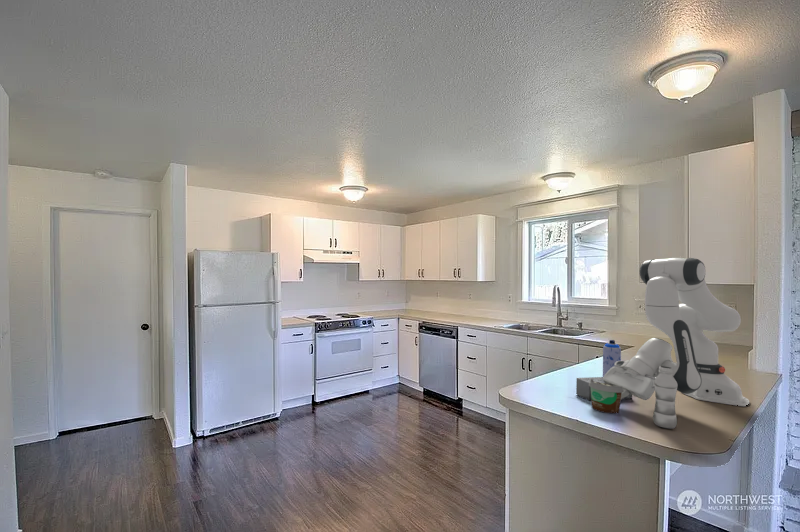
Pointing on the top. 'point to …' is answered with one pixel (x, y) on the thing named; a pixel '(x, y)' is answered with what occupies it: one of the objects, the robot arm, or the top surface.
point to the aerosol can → (610, 355)
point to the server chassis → (585, 389)
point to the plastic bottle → (665, 398)
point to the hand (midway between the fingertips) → (615, 398)
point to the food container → (605, 397)
